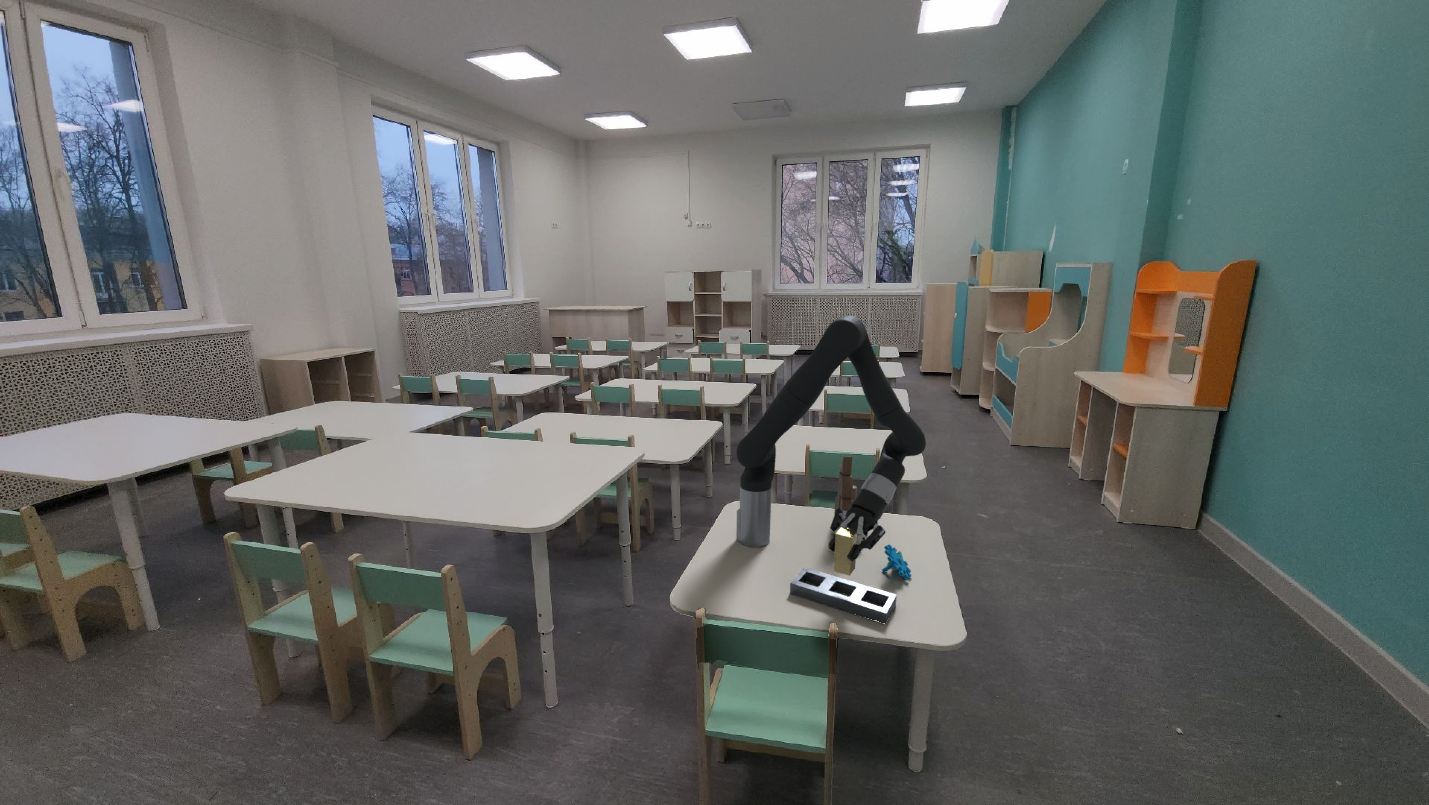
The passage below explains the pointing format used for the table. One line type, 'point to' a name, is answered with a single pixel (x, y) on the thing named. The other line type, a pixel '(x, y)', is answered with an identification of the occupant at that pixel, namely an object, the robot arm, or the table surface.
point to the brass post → (844, 550)
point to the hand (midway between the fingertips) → (840, 554)
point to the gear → (896, 562)
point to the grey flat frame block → (848, 604)
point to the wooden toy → (845, 486)
